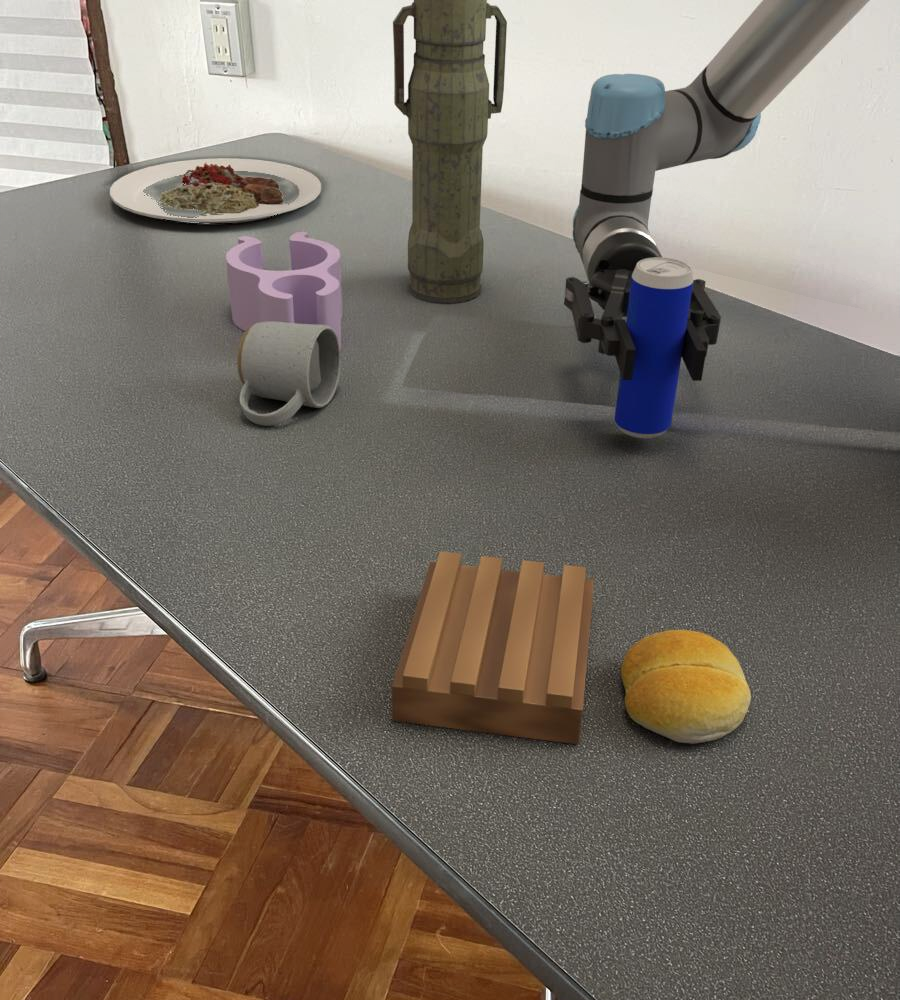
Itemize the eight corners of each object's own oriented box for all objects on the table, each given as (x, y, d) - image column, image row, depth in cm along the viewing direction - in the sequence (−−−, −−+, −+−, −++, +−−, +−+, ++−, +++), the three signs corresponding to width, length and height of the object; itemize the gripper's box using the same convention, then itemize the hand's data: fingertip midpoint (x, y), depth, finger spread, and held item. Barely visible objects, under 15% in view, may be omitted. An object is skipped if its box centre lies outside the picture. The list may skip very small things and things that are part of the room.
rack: (590, 612, 79) (596, 567, 76) (578, 745, 68) (584, 697, 65) (429, 594, 80) (430, 549, 78) (392, 721, 69) (391, 674, 67)
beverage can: (639, 409, 102) (661, 252, 93) (681, 429, 99) (708, 268, 90) (602, 424, 99) (620, 264, 90) (644, 446, 96) (667, 282, 87)
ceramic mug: (269, 375, 109) (262, 302, 105) (344, 387, 108) (340, 314, 103) (220, 422, 101) (210, 346, 97) (300, 436, 100) (293, 360, 95)
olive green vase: (389, 280, 132) (384, -52, 111) (482, 273, 134) (495, -52, 113) (403, 307, 125) (402, -41, 104) (501, 300, 127) (518, -42, 106)
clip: (367, 354, 114) (365, 291, 110) (250, 367, 111) (243, 302, 107) (327, 287, 129) (325, 229, 125) (223, 296, 126) (217, 237, 122)
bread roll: (628, 747, 68) (636, 700, 65) (615, 656, 75) (622, 611, 72) (759, 752, 68) (772, 705, 65) (734, 660, 75) (744, 615, 72)
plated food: (182, 248, 139) (179, 222, 137) (74, 194, 157) (69, 170, 154) (363, 205, 156) (362, 180, 154) (247, 160, 173) (245, 138, 171)
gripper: (707, 305, 111) (763, 407, 92) (531, 303, 110) (552, 405, 92) (720, 231, 106) (781, 323, 87) (536, 229, 106) (559, 321, 87)
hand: (664, 365), depth 90 cm, fingers closed on beverage can, 5 cm apart
